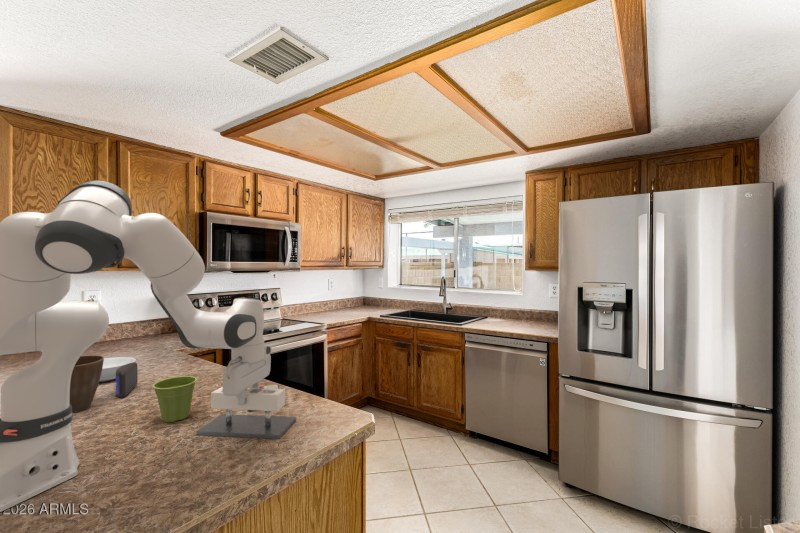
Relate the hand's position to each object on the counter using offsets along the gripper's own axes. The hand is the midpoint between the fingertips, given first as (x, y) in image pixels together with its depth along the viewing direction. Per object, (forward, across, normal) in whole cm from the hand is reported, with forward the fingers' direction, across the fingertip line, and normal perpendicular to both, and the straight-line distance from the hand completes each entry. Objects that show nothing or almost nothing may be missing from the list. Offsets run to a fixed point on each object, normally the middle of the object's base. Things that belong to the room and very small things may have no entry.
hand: (248, 400), depth 107 cm
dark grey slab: (+8, +25, +61) cm, 66 cm away
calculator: (+8, +20, +6) cm, 23 cm away
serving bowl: (+8, +38, +84) cm, 93 cm away
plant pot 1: (+8, +7, +64) cm, 65 cm away
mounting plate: (+8, 0, 0) cm, 8 cm away
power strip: (+2, 0, 0) cm, 2 cm away
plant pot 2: (+8, +4, +26) cm, 28 cm away
